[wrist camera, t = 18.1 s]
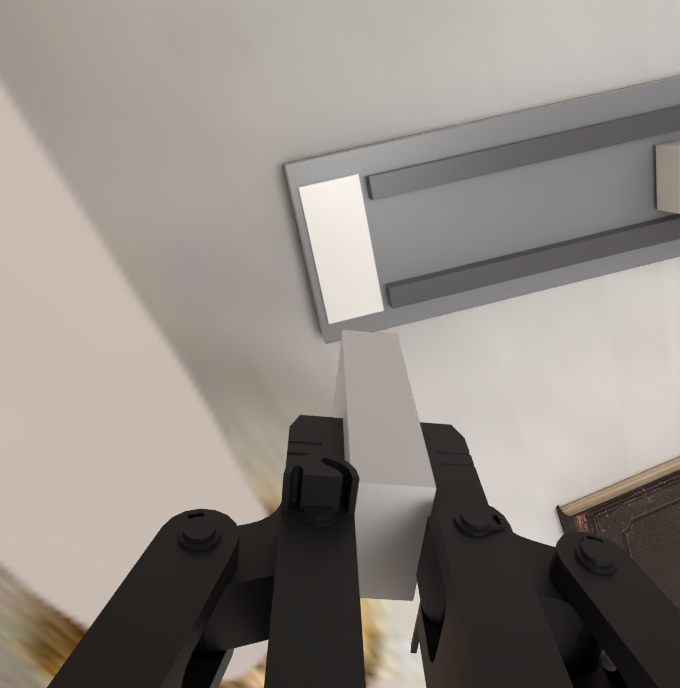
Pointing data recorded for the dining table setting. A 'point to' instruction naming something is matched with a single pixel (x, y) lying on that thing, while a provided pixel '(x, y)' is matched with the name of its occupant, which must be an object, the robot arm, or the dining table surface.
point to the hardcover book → (637, 522)
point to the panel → (485, 209)
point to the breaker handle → (668, 176)
